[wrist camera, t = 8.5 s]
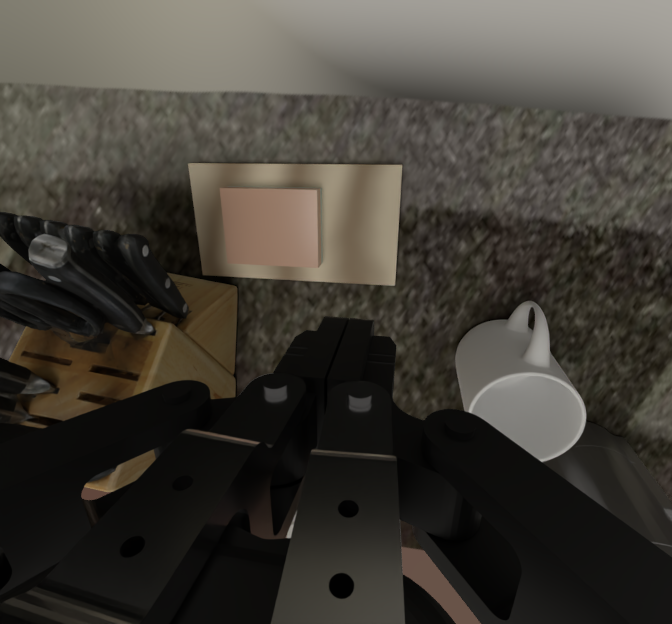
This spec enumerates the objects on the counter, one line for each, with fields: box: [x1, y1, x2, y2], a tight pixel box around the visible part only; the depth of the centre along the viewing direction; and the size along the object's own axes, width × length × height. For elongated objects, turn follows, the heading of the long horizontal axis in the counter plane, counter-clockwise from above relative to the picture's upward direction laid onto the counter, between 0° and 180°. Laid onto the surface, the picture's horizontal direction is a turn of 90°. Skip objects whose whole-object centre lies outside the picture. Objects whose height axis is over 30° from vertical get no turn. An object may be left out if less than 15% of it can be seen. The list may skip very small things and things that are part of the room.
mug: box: [455, 301, 586, 462], centre depth 35 cm, size 9×12×11 cm
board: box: [188, 163, 402, 286], centre depth 38 cm, size 20×11×1 cm, turn 90°
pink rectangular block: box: [220, 186, 323, 268], centre depth 37 cm, size 2×7×9 cm
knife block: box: [0, 212, 238, 492], centre depth 32 cm, size 11×35×31 cm, turn 172°
